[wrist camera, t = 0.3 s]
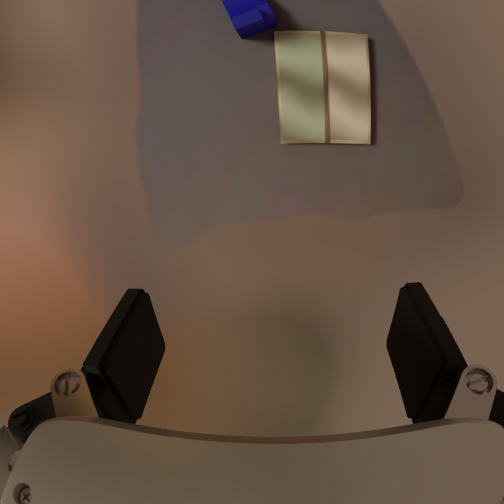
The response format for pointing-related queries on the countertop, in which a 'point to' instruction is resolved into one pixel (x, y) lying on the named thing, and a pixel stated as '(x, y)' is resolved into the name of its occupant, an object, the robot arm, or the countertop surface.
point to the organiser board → (323, 87)
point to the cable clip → (250, 16)
